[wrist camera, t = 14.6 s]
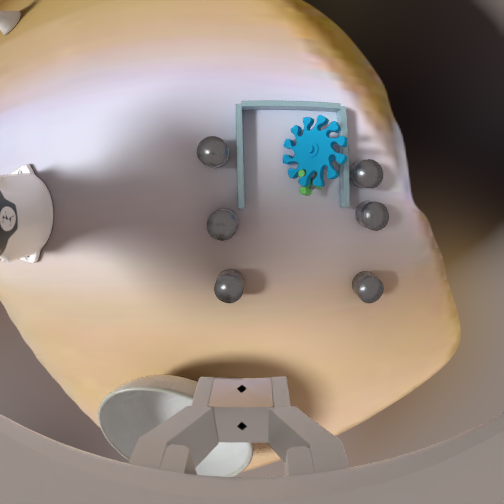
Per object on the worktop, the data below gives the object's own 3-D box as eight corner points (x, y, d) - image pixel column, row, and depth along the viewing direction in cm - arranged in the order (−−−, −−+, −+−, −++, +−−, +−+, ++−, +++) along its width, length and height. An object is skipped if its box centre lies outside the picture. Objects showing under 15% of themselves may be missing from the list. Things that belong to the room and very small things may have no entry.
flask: (3, 26, 29) (-19, 16, 20) (21, 7, 29) (0, -5, 19) (3, 40, 31) (-20, 30, 21) (22, 20, 30) (-1, 7, 20)
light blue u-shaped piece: (239, 207, 41) (238, 208, 39) (236, 105, 37) (235, 101, 35) (345, 206, 40) (349, 207, 38) (341, 107, 37) (345, 104, 35)
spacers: (209, 300, 44) (205, 309, 40) (201, 141, 38) (196, 137, 35) (373, 294, 43) (381, 302, 40) (378, 143, 38) (387, 140, 35)
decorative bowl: (98, 358, 47) (70, 394, 35) (222, 329, 45) (212, 373, 33) (161, 446, 53) (149, 483, 41) (271, 431, 50) (273, 475, 39)
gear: (291, 108, 36) (352, 120, 30) (314, 121, 40) (371, 134, 34) (269, 181, 40) (326, 205, 33) (294, 186, 44) (347, 209, 38)
